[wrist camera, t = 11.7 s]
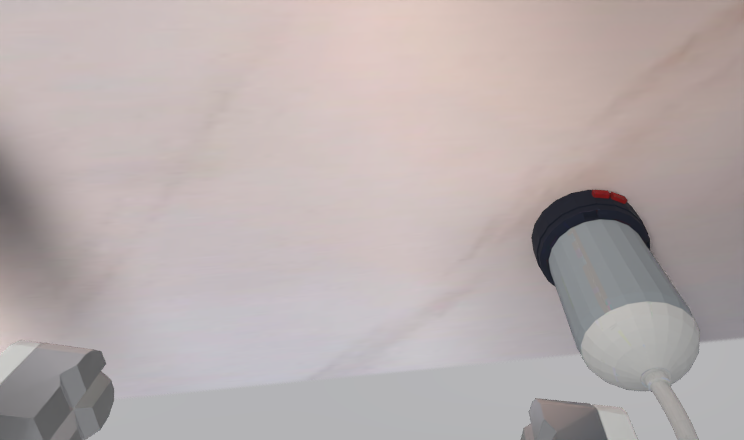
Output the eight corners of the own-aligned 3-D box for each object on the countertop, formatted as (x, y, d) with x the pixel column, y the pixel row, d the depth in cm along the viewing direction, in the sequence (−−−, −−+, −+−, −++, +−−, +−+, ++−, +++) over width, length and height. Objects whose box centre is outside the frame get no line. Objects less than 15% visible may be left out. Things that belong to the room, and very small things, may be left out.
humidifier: (626, 174, 37) (895, 511, 16) (647, 258, 41) (891, 630, 19) (518, 209, 40) (624, 545, 18) (546, 286, 43) (664, 645, 22)
